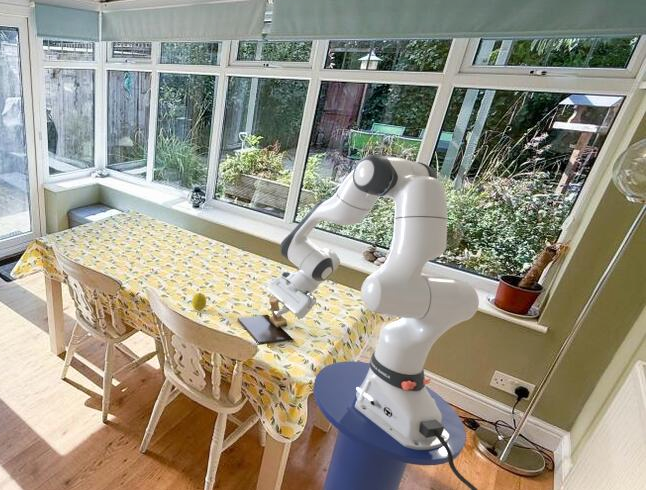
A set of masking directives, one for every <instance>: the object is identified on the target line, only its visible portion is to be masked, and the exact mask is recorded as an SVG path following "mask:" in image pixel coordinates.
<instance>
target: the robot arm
mask: <svg viewBox="0 0 646 490" xmlns="http://www.w3.org/2000/svg"><path fill="white" fill-rule="evenodd" d="M381 197H383V198H386V199H391V200H392V201H393V202H394V219H393V220H394V221H393V225H394V226H393V235H392V245H391V249H390V252H389V254H388V257H387V258H386V260H385V261H384V263H383V264H382V265H381V267H380V268H378V269H377V270H376V271H374V272H373V273H371V274H370V275H368V276H367V277H365V280H364V281H363V283H362V285H361V287H360V297H361V301H362V304H363V305H364V307H365V308H366V309H367V310H368V311H369V312H373V313H375V314H379V315H383V316H385V317H390V318H399V319H398V320H395V321H392V322H390V323H388V324H386V325H385V326H383V327H382V328H381V330H380V333H379V335H378V339H377V343H376V345H375V350H374V351H373V352H372V354H371V357H370V359H369V363H370V368H369V371H368V373H367V376H366V378H365V380H364V381H363V383H362V385H361V386H360V387H359V388H358V387H357V389H356V390H357V392H356V397H357V401H356V403H355V408H356V409H357V410H359V411H360V412H361V413H362V414H364V415H365V416H366V417H367V418H369V419H370V420H371V421H373V422H374V423H375V424H376V425H378V426H379V427H380V428H381V429H383V430H384V431H385V432H387V433H388V434H389V435H390V436H392V437H393V438H394V439H395V440H397V441H398V442H399V443H401V444H402V445H403V446H405V447H407V448H411V449H416V450H429V449H435V448H438V447H441V446H444V448H445V450H446V452H447V455H448V462H447V463H448V465H449V467H450V469H451V471H452V472H453V474H454V475H455V477H456V478H457V479H459V481H461V483H463V484H464V485H465V486H466V487H468V488H469V489H470V490H479V489H478V488H477V487H475V485H473V484H472V483H471V482H470V481H469V480H468V479H466V478H465V477H464V476H463V475H462V474H461V473H460V472H459V471H458V469H457V467H456V466H455V463H454V459H453V456H452V453H451V451H450V449H449V447H448V445H447V442H448V440H449V436H450V435H449V434H448V432H447V431H446V430H445V429H444V426H443V425H442V424H441V422H442V415H441V412H440V410H439V409H438V407H437V406H436V402H435V400H434V399H433V398H432V397H431V396H430V394H429V392H428V391H427V389H426V387H425V386H426V385H427V384H430V383H431V382H430V381H432V379H431V378H427V379H425V378H426V377H425V369H424V365H425V363H426V361H427V358H428V355H429V353H430V351H431V349H432V348H433V345H434V344H435V343H436V342H437V341H438V340H439V338H440V337H442V335H444V334H445V333H446V332H447V331H449V330H450V329H451V328H453V327H454V326H456V325H458V324H460V323H463V322H466V321H468V320H470V319H471V318H473V317H474V316H475V314H477V312H478V309H479V305H480V299H479V295H478V293H477V291H476V289H475V287H474V286H472V285H471V284H470V283H469V282H467V281H462V280H460V279H456V278H452V277H448V276H437V275H423V274H422V271H423V268H424V267H425V265H426V264H427V263H428V262H430V261H433V260H435V259H437V258H439V257H441V256H442V255H443V254H444V253H445V252H446V250H447V244H448V203H447V195H446V191H445V187H444V184H443V182H442V181H441V180H439V179H438V175H437V173H436V170H435V169H434V168H432V167H431V166H430V165H428V164H426V163H423V162H418V161H417V162H416V161H414V160H410V159H406V158H403V157H399V156H392V155H391V156H390V155H383V154H371V155H367V156H364V157H362V158H361V159H360V160H358V162H356V165H355V167H354V168H353V170H352V171H351V172H350V173H349V174H348V175H347V176H346V178H344V180H343V181H342V183H341V184H340V185H339V187H338V189H337V190H336V192H335V194H334V195H333V196H332V197H330V198H329V199H321V200H320V201H318V202H317V203H316V204H315V205H314V206H313V207H312V208H311V209H310V210H309V211H308V212H307V214H305V216H304V217H303V218H302V220H301V221H300V222H299V223H298V224H297V225H296V226H295V228H294V229H293V230H292V231H291V232H290V233H289V234H288V235H287V236H286V237H285V238H284V239H283V240H282V241H281V243H280V248H279V249H280V254H281V257H283V258H284V259H286V260H288V261H289V262H291V263H292V264H293V265H294V266H296V267H297V268H298V270H297V271H296V272H290V271H286V270H283V271H281V272H280V274H279V275H278V276H276V277H275V278H274V279H273V280H271V282H270V283H268V285H267V286H266V291H267V292H268V293H269V294H270V295H271V296H272V297H276V298H277V300H278V304H279V303H280V304H282V305H283V306H282V307H281V308H279V309H280V310H276V311H275V312H274V314H275V315H276V316H277V317H279V316H280V315H281V316H282V315H285V314H287V313H289V312H291V313H292V314H293V315H294V316H295V317H296V318H297V319H299V320H300V319H301V320H302V319H304V318H305V317H306V316H307V315H308V314H309V312H310V311H311V310H312V308H313V307H314V306H315V305H316V304H317V296H314V295H313V293H314V292H315V291H316V290H317V289H318V288H319V286H320V285H321V284H322V283H324V282H325V281H327V280H328V279H329V278H330V277H331V275H333V273H335V271H336V270H337V269H338V267H339V266H340V265H341V260H340V257H339V256H338V255H337V253H335V252H334V251H333V250H332V249H329V248H323V249H321V248H319V247H318V246H317V245H316V244H314V242H311V240H309V238H308V235H309V234H310V233H311V232H312V231H313V230H314V229H315V228H316V226H318V224H319V223H320V222H321V221H322V222H327V223H331V224H335V225H339V226H354V225H356V224H360V222H362V221H363V220H364V219H365V218H366V217H367V216H368V215H369V213H370V212H371V211H372V209H373V207H374V206H375V204H376V202H377V201H378V199H380V198H381ZM267 308H268V309H269V310H270V311H271V312H272V310H271V306H270V304H269V305H268V306H267Z"/></svg>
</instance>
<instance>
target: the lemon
mask: <svg viewBox="0 0 646 490" xmlns="http://www.w3.org/2000/svg"><path fill="white" fill-rule="evenodd" d="M191 304H192V307H193V309H195V310H197V311H201V310H203V309H205V308H206V305H207V297H206V296H205V294H203V293H202V292H197V293H195V294H194V295H193V296H192V299H191Z"/></svg>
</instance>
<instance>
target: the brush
mask: <svg viewBox="0 0 646 490" xmlns="http://www.w3.org/2000/svg"><path fill="white" fill-rule="evenodd" d="M268 302H269V305H270V306H271V310H272V311H271V310H270V311H271V313H272V315H271V316H270V317H269V318H270V322H271V323H272V324H273V325H274V326H275V327H276V328H277V329H281V328H282V327H287V326H288V322H287V319H286V318H285V317H284V316H282V314H281V315H280V316H279V317H277V316H276V315H275V314H274V312H275V311H276V310H280V309H281V308H280V305H279V303H278V300H277V298H276V297H274V296H272V297H270V298H269V299H268Z"/></svg>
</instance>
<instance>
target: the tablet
mask: <svg viewBox="0 0 646 490" xmlns="http://www.w3.org/2000/svg"><path fill="white" fill-rule="evenodd" d="M269 317H271V316H270V315H269V314H260V315H252V316H244V317H237V321H238V322H239V323H240V325H241V326H242V327H243V328H244V330H245V331H246V332H247V333H248V334H249V336H250V337H251V338H252V339H253V340H254V341H255V343H257V342H258V343H259V345H258V346H261V345H268V344H277V343H284V342H289V341H295V339H294V338H293V337H291V335H290V334H288V332H287V331H286V330H285V329H283V327H281V329H277V328H276V327H275V326H274V325H273V324H272V323H271V322H270V318H269Z"/></svg>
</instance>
